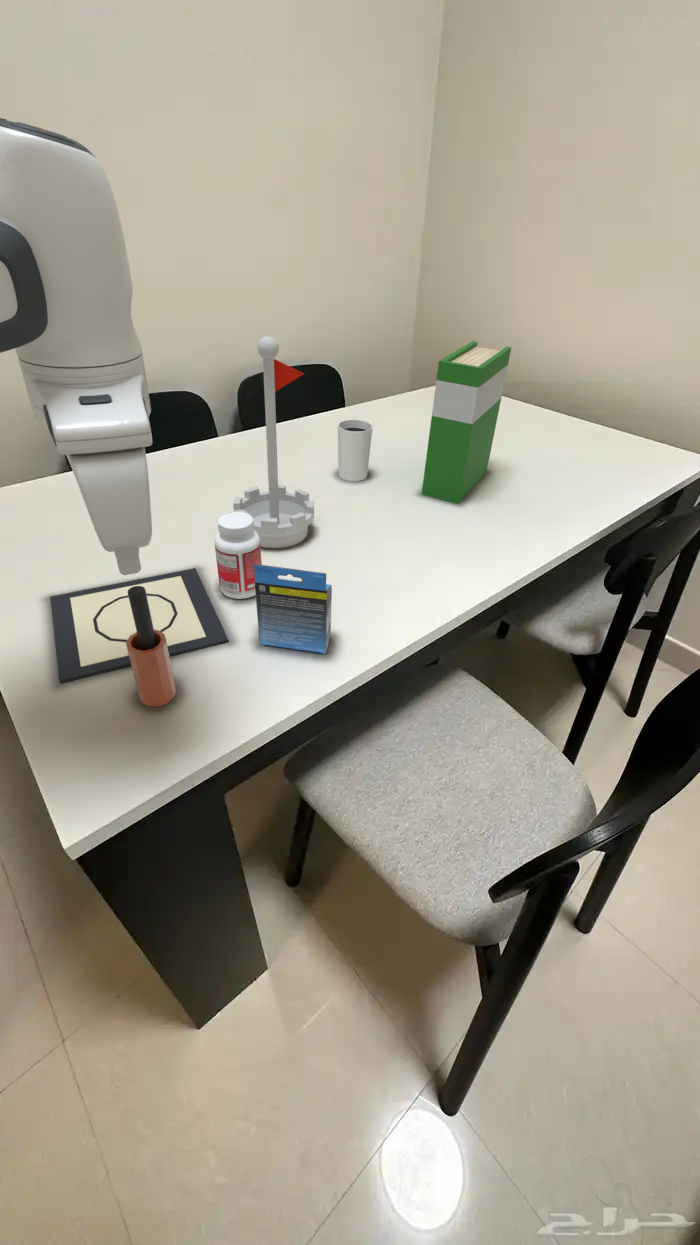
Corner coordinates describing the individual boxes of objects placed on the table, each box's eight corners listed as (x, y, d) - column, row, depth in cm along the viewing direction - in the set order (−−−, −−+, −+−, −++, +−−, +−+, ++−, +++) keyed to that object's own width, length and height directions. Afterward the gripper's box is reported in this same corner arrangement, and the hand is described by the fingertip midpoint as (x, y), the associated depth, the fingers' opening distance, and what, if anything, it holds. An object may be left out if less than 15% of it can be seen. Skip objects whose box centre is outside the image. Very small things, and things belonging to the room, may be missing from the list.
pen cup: (143, 710, 65) (129, 657, 60) (137, 687, 67) (123, 634, 62) (179, 700, 66) (168, 647, 61) (172, 678, 69) (161, 625, 64)
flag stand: (246, 556, 91) (230, 350, 72) (228, 518, 100) (210, 327, 81) (324, 544, 95) (329, 346, 76) (300, 508, 104) (298, 324, 86)
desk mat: (60, 683, 67) (58, 679, 67) (50, 598, 80) (49, 595, 80) (228, 641, 75) (228, 638, 74) (195, 570, 87) (195, 567, 87)
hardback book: (453, 463, 123) (472, 341, 109) (486, 471, 121) (511, 347, 106) (421, 494, 111) (438, 361, 96) (458, 504, 108) (481, 368, 94)
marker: (152, 697, 66) (128, 596, 57) (149, 687, 67) (126, 587, 58) (167, 693, 66) (146, 593, 58) (164, 683, 67) (143, 584, 59)
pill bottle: (260, 574, 87) (256, 507, 80) (265, 598, 82) (261, 529, 75) (218, 578, 86) (211, 510, 79) (220, 602, 81) (212, 532, 74)
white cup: (354, 485, 113) (357, 434, 107) (329, 474, 116) (330, 425, 110) (376, 475, 117) (379, 426, 111) (351, 465, 120) (353, 417, 114)
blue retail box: (331, 636, 76) (334, 556, 69) (326, 655, 73) (328, 573, 66) (266, 626, 77) (261, 546, 70) (257, 645, 74) (252, 563, 67)
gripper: (40, 360, 52) (75, 501, 61) (54, 441, 38) (99, 611, 46) (114, 357, 54) (138, 493, 63) (154, 431, 40) (179, 595, 48)
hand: (122, 544), depth 54 cm, fingers open, 8 cm apart
